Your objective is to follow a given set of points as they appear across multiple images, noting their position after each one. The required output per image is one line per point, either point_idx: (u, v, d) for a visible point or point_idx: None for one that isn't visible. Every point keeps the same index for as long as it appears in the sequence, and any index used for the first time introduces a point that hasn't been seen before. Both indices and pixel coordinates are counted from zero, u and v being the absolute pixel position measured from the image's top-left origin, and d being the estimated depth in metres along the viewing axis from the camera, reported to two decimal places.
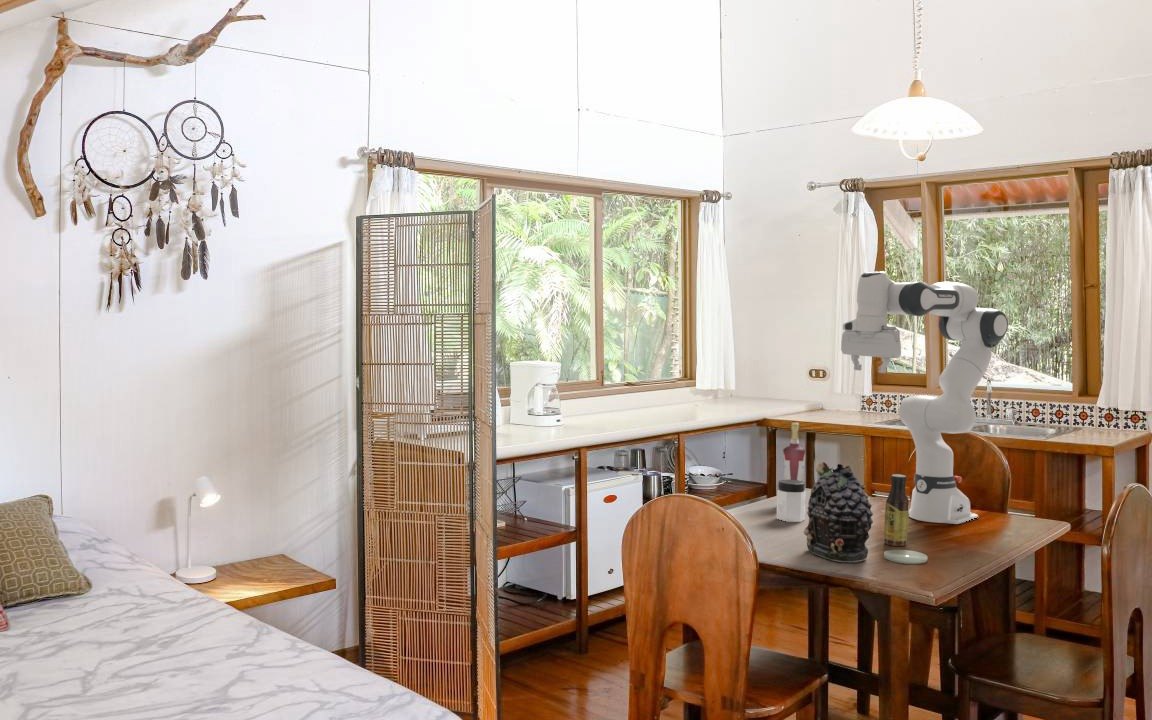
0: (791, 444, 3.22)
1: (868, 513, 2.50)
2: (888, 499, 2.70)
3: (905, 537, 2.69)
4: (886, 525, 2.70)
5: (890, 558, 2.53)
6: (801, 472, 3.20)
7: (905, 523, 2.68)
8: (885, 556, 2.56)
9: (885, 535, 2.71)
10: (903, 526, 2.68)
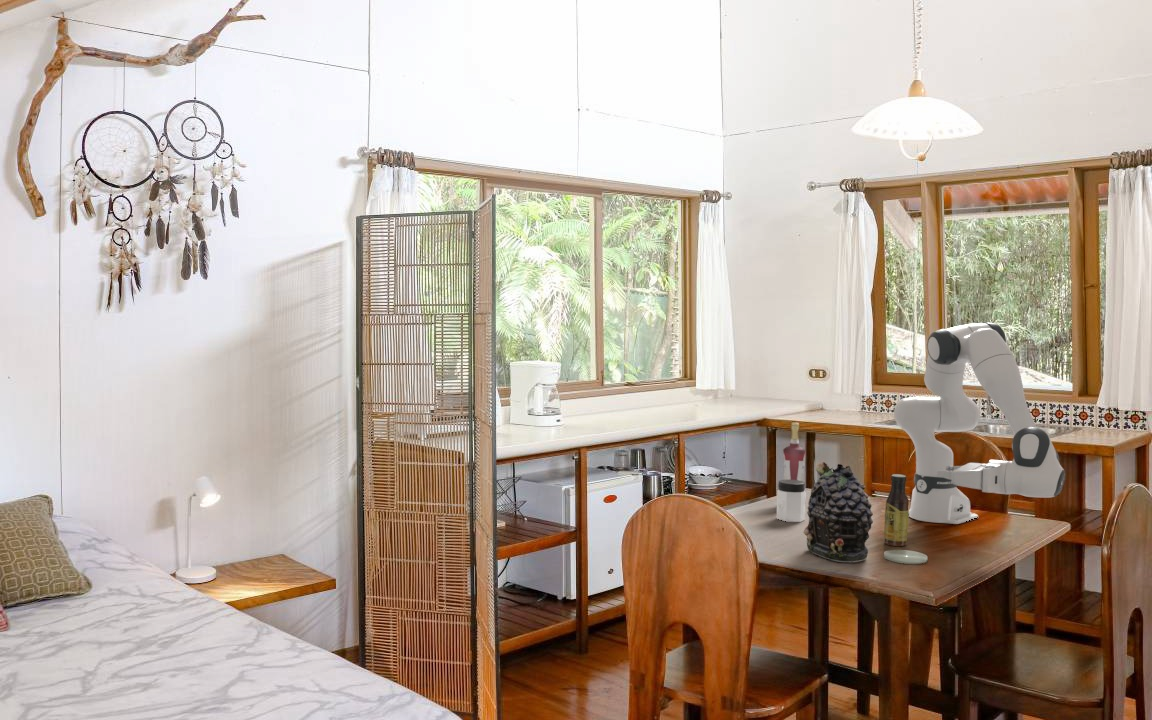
0: (791, 444, 3.22)
1: (868, 513, 2.50)
2: (888, 499, 2.70)
3: (905, 537, 2.69)
4: (886, 525, 2.70)
5: (890, 558, 2.53)
6: (801, 472, 3.20)
7: (905, 523, 2.68)
8: (885, 556, 2.56)
9: (885, 535, 2.71)
10: (903, 526, 2.68)
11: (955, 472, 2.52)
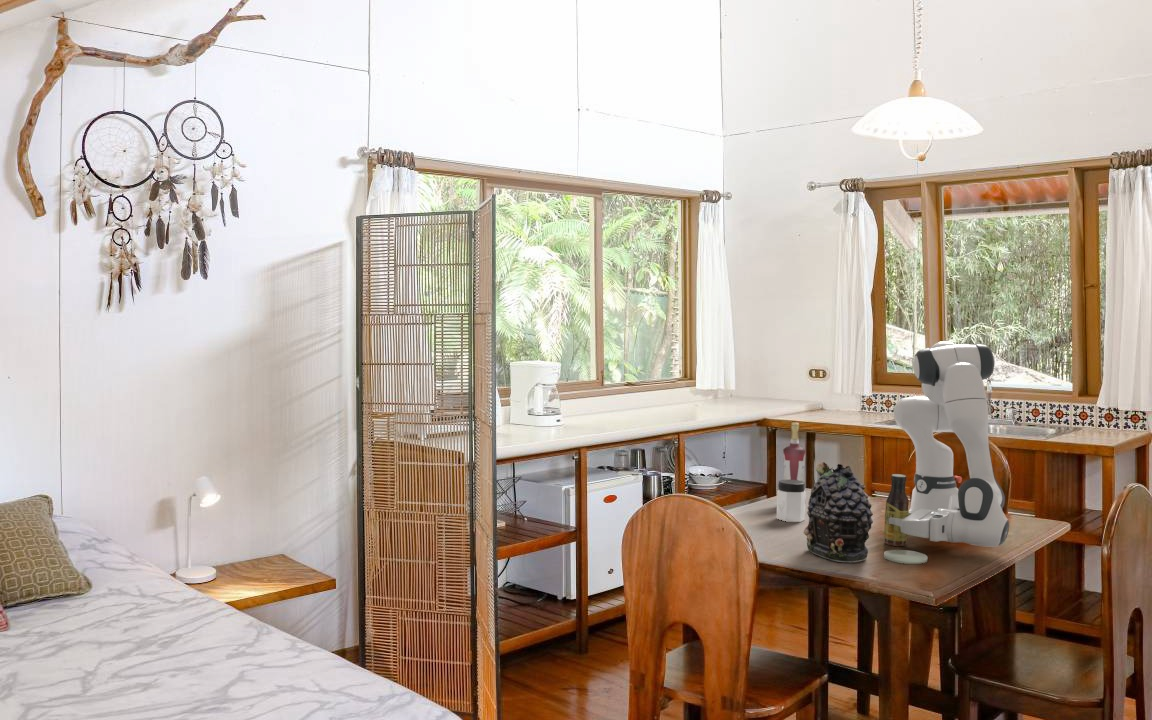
0: (791, 444, 3.22)
1: (868, 513, 2.50)
2: (888, 499, 2.70)
3: (905, 537, 2.69)
4: (886, 525, 2.70)
5: (890, 558, 2.53)
6: (801, 472, 3.20)
7: None
8: (885, 556, 2.56)
9: (885, 535, 2.71)
10: None
11: (904, 521, 2.60)
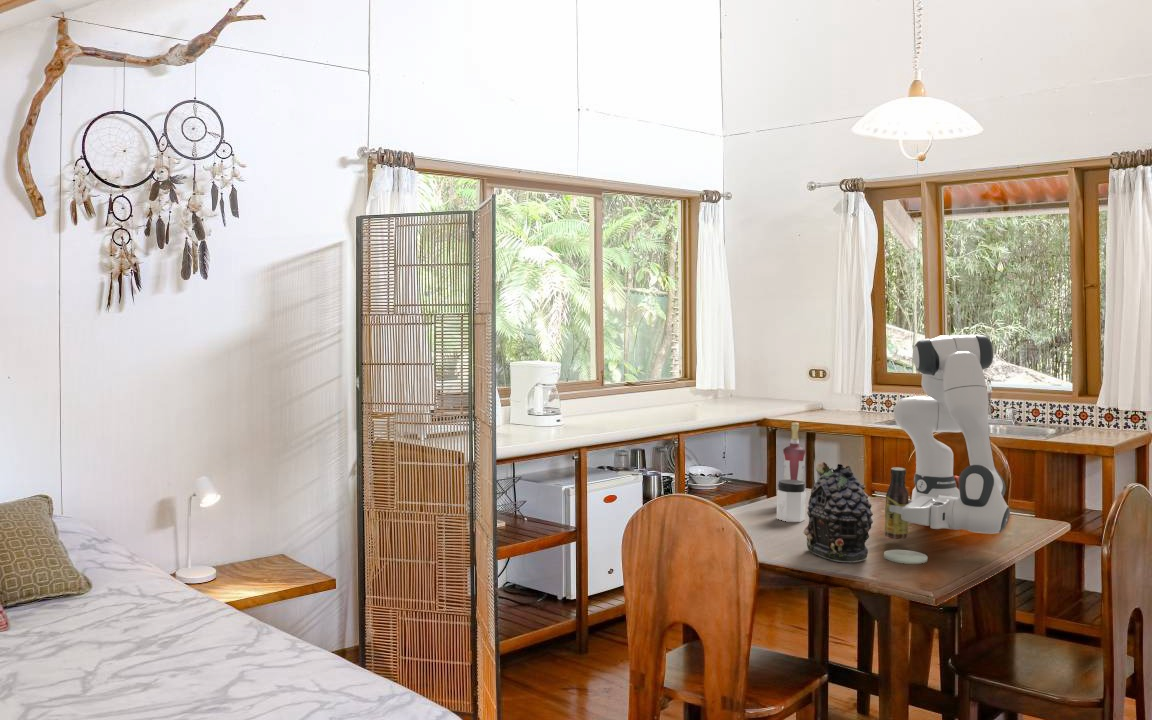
0: (791, 444, 3.22)
1: (868, 513, 2.50)
2: (888, 492, 2.70)
3: (906, 529, 2.69)
4: (886, 518, 2.71)
5: (890, 558, 2.53)
6: (801, 472, 3.20)
7: None
8: (885, 556, 2.56)
9: (885, 528, 2.71)
10: None
11: (904, 509, 2.60)
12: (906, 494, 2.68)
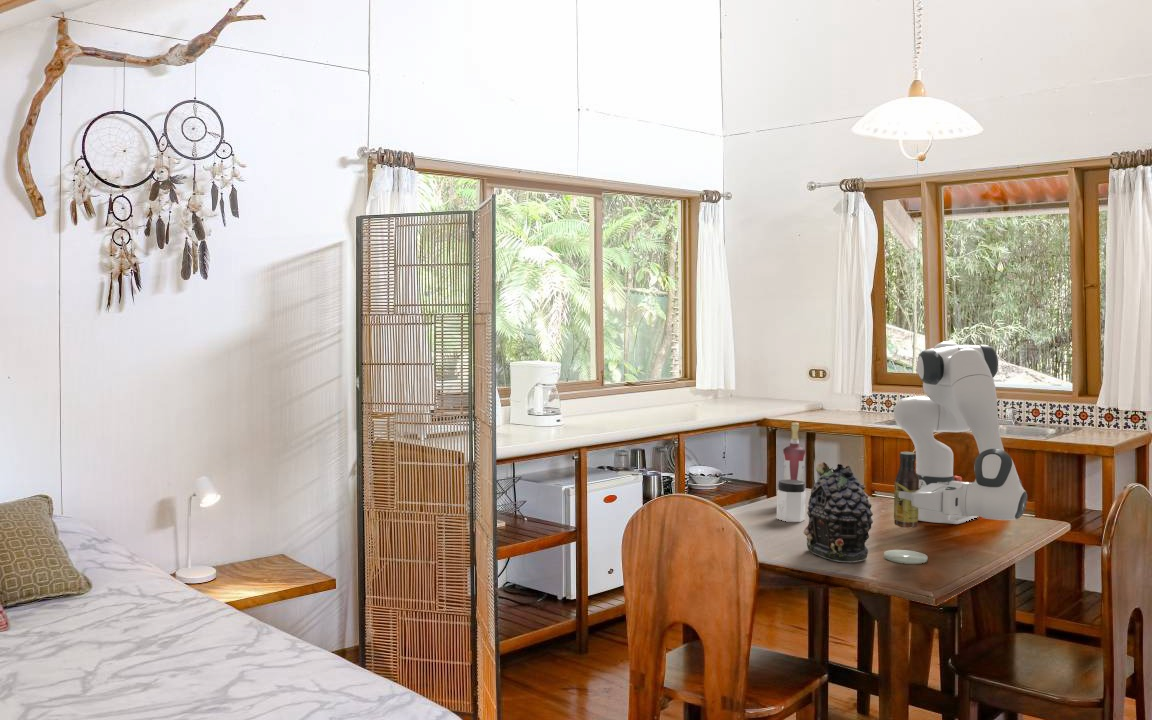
0: (791, 444, 3.22)
1: (868, 513, 2.50)
2: (897, 478, 2.56)
3: (916, 517, 2.54)
4: (895, 505, 2.56)
5: (890, 558, 2.53)
6: (801, 472, 3.20)
7: None
8: (885, 556, 2.56)
9: (894, 516, 2.56)
10: None
11: (915, 494, 2.45)
12: (916, 480, 2.53)
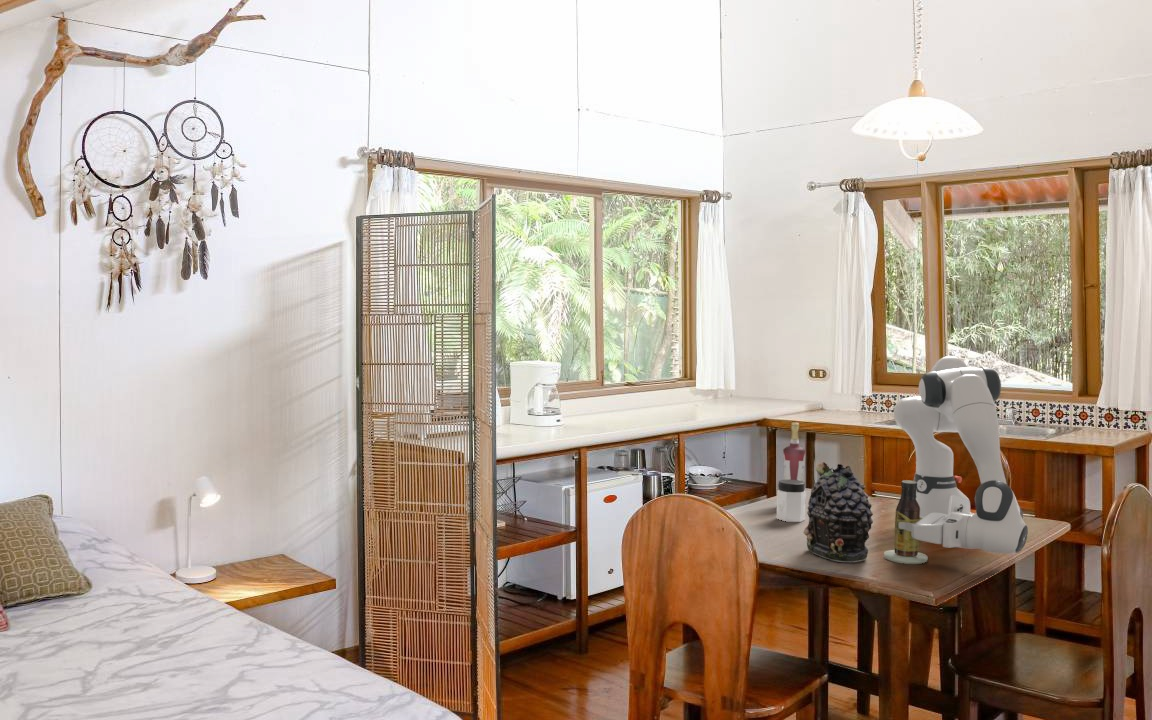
0: (791, 444, 3.22)
1: (868, 513, 2.50)
2: (898, 507, 2.55)
3: (916, 546, 2.53)
4: (896, 534, 2.55)
5: (890, 558, 2.53)
6: (801, 472, 3.20)
7: None
8: (885, 556, 2.56)
9: (895, 545, 2.56)
10: None
11: (915, 526, 2.44)
12: (917, 509, 2.53)
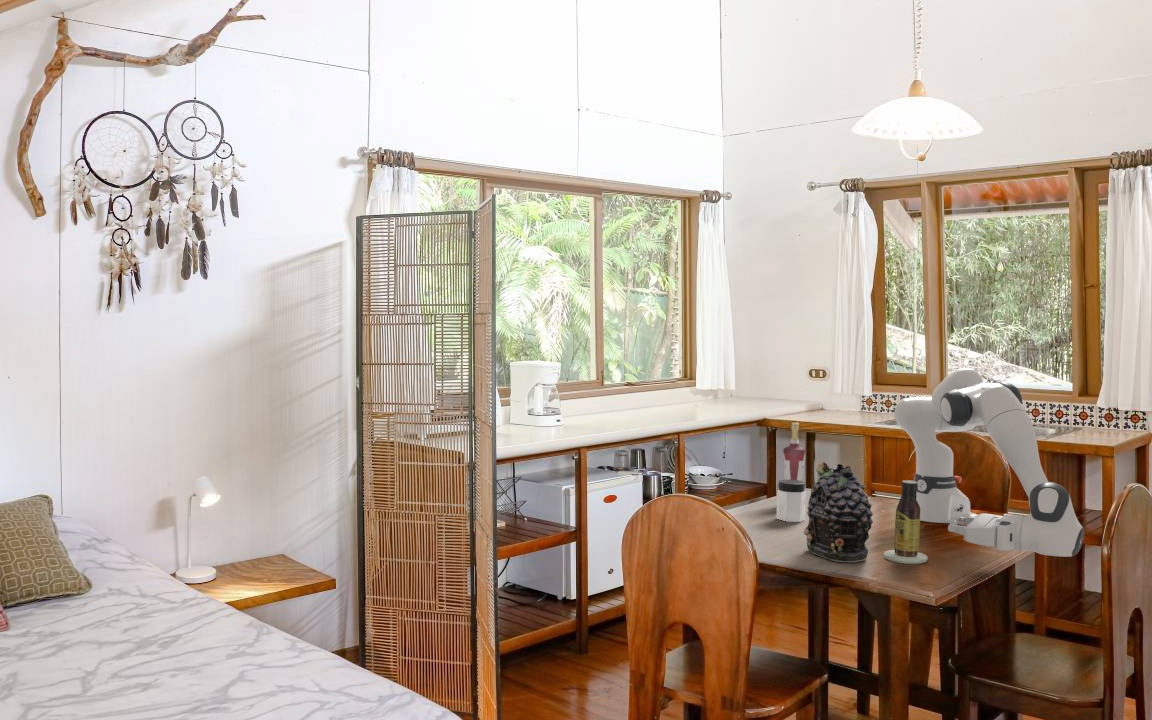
0: (791, 444, 3.22)
1: (868, 513, 2.50)
2: (898, 506, 2.55)
3: (916, 547, 2.54)
4: (896, 534, 2.55)
5: (890, 558, 2.53)
6: (801, 472, 3.20)
7: (916, 532, 2.53)
8: (885, 556, 2.56)
9: (895, 545, 2.56)
10: (914, 535, 2.53)
11: (968, 529, 2.38)
12: (918, 509, 2.53)
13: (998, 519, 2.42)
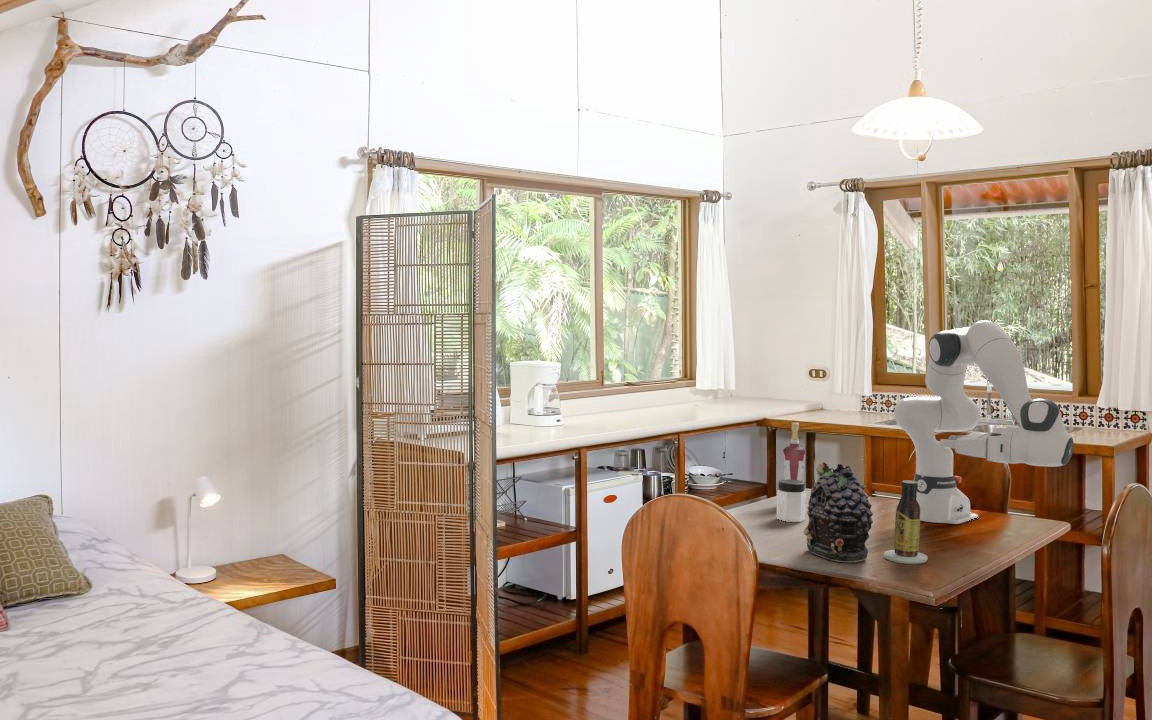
0: (791, 444, 3.22)
1: (868, 513, 2.50)
2: (898, 506, 2.55)
3: (916, 547, 2.54)
4: (896, 534, 2.55)
5: (890, 558, 2.53)
6: (801, 472, 3.20)
7: (916, 532, 2.53)
8: (885, 556, 2.56)
9: (895, 545, 2.56)
10: (914, 535, 2.53)
11: (959, 440, 2.42)
12: (918, 509, 2.53)
13: (989, 433, 2.46)
